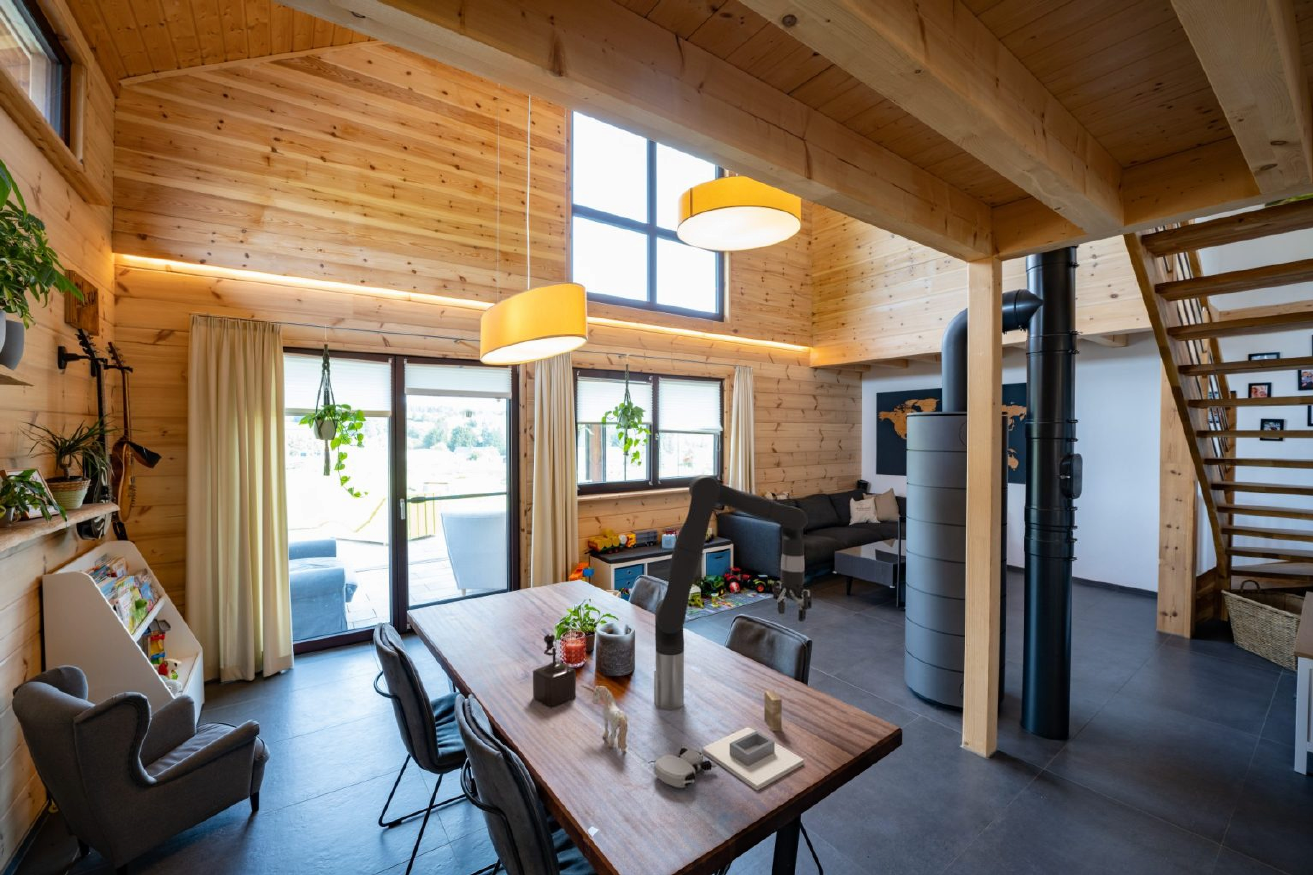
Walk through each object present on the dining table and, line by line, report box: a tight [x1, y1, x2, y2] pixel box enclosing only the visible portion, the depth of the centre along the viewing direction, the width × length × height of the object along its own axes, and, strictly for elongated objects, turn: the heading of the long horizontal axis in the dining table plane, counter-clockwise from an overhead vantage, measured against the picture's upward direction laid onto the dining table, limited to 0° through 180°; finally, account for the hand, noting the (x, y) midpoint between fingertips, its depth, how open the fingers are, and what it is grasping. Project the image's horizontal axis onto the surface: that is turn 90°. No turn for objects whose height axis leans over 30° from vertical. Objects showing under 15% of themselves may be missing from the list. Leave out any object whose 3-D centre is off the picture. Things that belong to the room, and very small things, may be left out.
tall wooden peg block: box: [763, 689, 783, 732], centre depth 162 cm, size 3×6×9 cm, turn 10°
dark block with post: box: [532, 633, 577, 709], centre depth 180 cm, size 16×11×18 cm
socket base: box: [701, 726, 805, 791], centre depth 145 cm, size 18×20×4 cm
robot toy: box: [647, 746, 717, 789], centre depth 137 cm, size 12×4×15 cm
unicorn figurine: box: [580, 684, 628, 752], centre depth 153 cm, size 7×20×13 cm, turn 43°
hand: (791, 617), depth 178 cm, fingers open, 8 cm apart
